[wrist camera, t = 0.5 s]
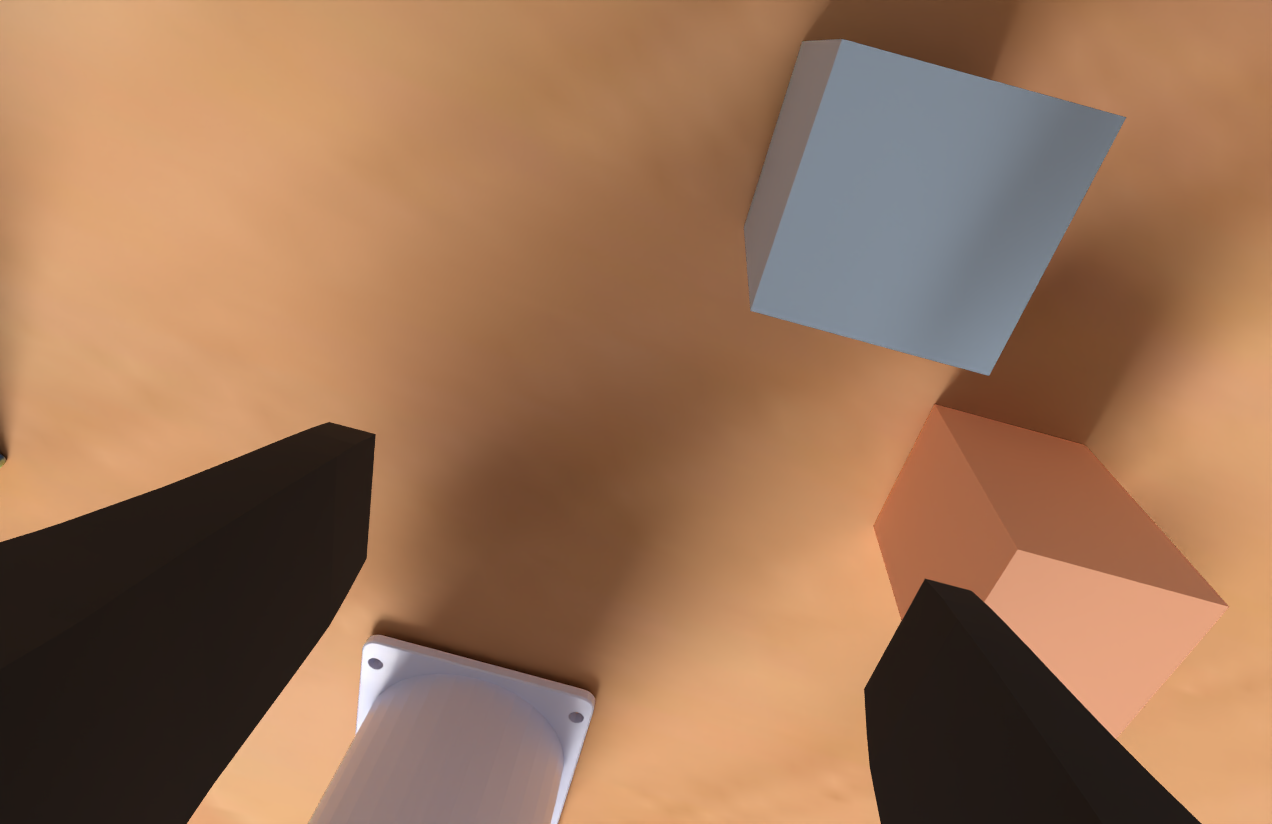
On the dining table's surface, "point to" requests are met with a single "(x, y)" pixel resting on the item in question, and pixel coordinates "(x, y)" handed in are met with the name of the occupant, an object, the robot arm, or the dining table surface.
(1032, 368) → the dining table surface
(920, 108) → the slate-blue block
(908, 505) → the terracotta block
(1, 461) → the protein box
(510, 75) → the dining table surface
